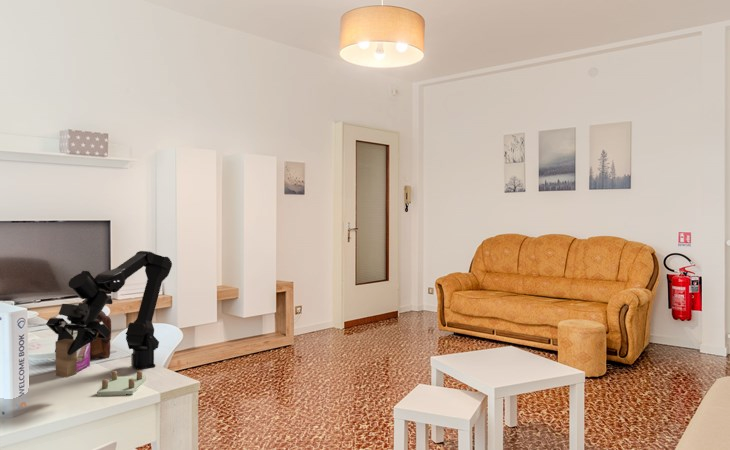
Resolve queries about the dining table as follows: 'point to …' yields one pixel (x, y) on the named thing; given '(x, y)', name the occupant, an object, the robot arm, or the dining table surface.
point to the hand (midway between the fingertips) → (62, 353)
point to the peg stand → (121, 384)
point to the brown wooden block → (65, 359)
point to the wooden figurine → (101, 341)
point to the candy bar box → (82, 354)
